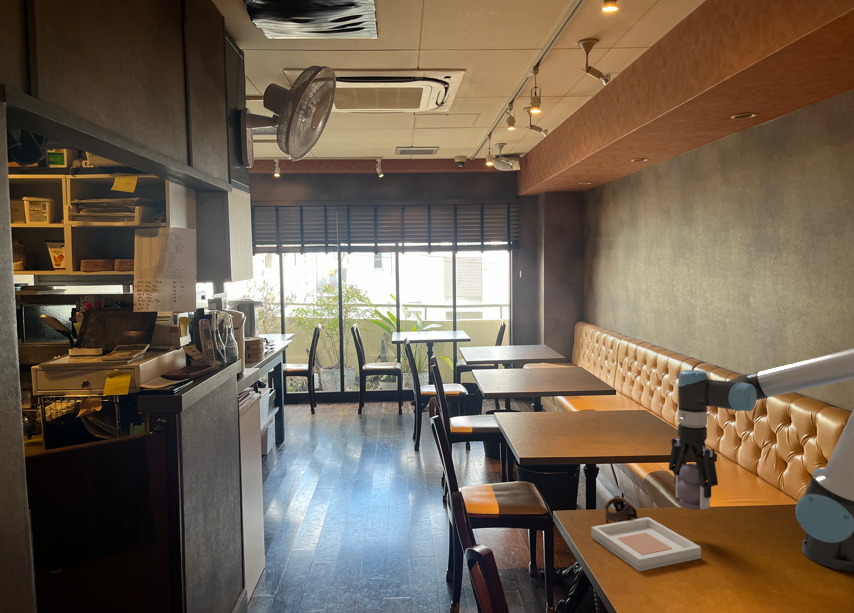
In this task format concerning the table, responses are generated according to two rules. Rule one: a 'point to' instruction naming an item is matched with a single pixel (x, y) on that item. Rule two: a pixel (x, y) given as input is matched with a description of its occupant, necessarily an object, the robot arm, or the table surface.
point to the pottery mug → (620, 510)
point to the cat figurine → (689, 486)
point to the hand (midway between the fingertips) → (692, 502)
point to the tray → (645, 543)
